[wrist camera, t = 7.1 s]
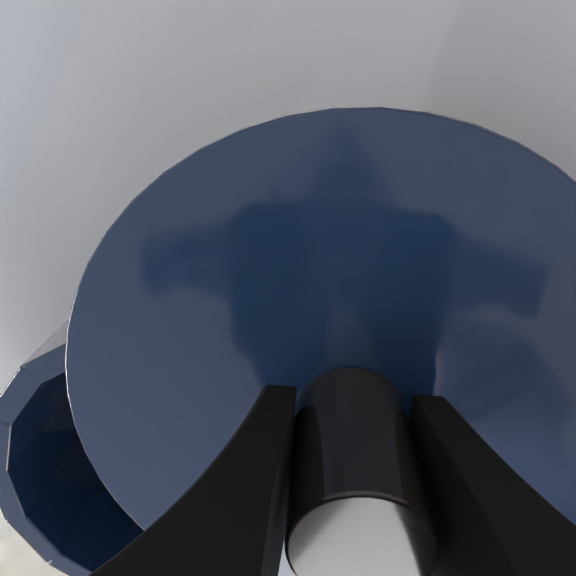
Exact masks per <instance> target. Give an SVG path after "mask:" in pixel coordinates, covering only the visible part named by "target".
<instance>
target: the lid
mask: <svg viewBox="0 0 576 576" xmlns="http://www.w3.org/2000/svg"><path fill="white" fill-rule="evenodd" d="M65 374H66V386H67V395H68V400H69V404H70V408H71V413H72V417H73V421H74V425H75V427H76V430H77V433H78V435H79V438H80V440H81V443H82V446H83V448H84V451H85V453H86V455H87V457H88V458H89V460H90V462H91V464H92V466H93V467H94V469H95V471H96V473H97V475H98V477H99V478H100V480H101V481H102V483H103V484H104V485H105V487H106V488H107V489H108V491H109V492H110V493H111V495H112V496H113V498H114V499H115V500H116V502H117V503H118V504H119V505H120V506H121V507H122V508H123V509H124V511H125V512H126V513H127V514H128V515H129V516H130V517H131V518H132V519H133V520H134V521H135V522H136V523H137V524H138V525H139V526H140V527H141V528H142V529H143V530H144V531H145V530H146V529H147V528H148V527H149V526H150V525H152V524H153V523H154V522H155V521H156V520H157V519H158V518H159V517H160V516H162V515H163V514H164V513H165V512H166V511H167V510H168V509H169V508H170V507H171V506H172V505H173V504H174V503H175V502H176V501H177V500H178V499H179V498H180V497H181V496H182V495H183V494H184V493H185V492H186V491H187V490H188V489H189V488H190V487H191V486H192V485H193V483H194V482H195V481H196V480H197V479H198V478H199V477H200V476H201V475H202V473H203V472H204V471H205V470H206V469H207V467H208V466H209V465H210V464H211V463H212V461H213V460H214V459H215V458H216V457H217V456H218V454H219V453H220V452H221V451H222V449H223V448H224V447H225V446H226V444H227V443H228V442H229V440H230V439H231V437H232V436H233V435H234V433H235V432H236V431H237V429H238V428H239V426H240V425H241V424H242V422H243V421H244V419H245V418H246V416H247V414H248V413H249V411H250V410H251V408H252V407H253V405H254V403H255V401H256V400H257V398H258V396H259V394H260V392H261V389H262V388H264V387H265V386H266V385H280V386H295V387H296V402H295V420H294V433H293V446H292V455H291V463H290V476H289V488H288V501H287V514H286V527H285V537H284V543H283V549H282V555H281V561H280V567H279V572H278V576H430V575H431V574H432V572H433V570H434V568H435V566H436V564H437V561H438V558H439V552H440V541H439V537H438V533H437V529H436V525H435V521H434V517H433V513H432V509H431V505H430V501H429V497H428V493H427V489H426V485H425V481H424V478H423V474H422V470H421V466H420V462H419V458H418V454H417V450H416V446H415V442H414V438H413V434H412V430H411V426H410V423H409V417H410V410H411V404H412V398H413V394H416V395H431V396H443V397H444V398H445V399H446V400H447V401H448V402H449V403H450V404H451V405H452V406H453V407H454V408H455V409H456V411H457V412H458V413H459V414H460V415H461V416H462V417H463V418H464V419H465V420H466V421H467V422H468V424H469V425H470V426H471V427H472V428H473V429H474V430H475V431H476V432H477V433H478V434H479V435H480V436H481V437H482V439H483V440H484V441H485V442H486V443H487V444H488V445H489V446H490V447H491V448H492V449H493V450H494V451H495V452H496V453H497V454H498V455H499V456H500V457H501V458H502V459H503V460H504V461H505V462H506V463H507V464H508V465H509V466H510V467H511V468H512V469H513V470H514V471H515V472H516V473H517V474H518V475H519V476H520V477H521V478H522V479H524V480H525V481H526V482H527V483H528V484H529V485H530V486H531V487H532V488H533V489H534V490H536V491H537V492H538V493H539V494H540V495H541V496H542V497H543V498H544V499H546V500H547V501H548V502H549V503H550V504H551V505H552V506H553V507H554V508H556V509H557V510H558V511H559V512H560V513H562V514H563V515H564V516H565V517H566V518H567V519H569V520H570V521H571V522H572V523H574V524H575V525H576V181H575V180H573V179H572V178H571V177H570V176H569V175H567V174H566V173H565V172H564V171H563V170H562V169H560V168H559V167H558V166H557V165H555V164H553V163H552V162H550V161H548V160H547V159H545V158H544V157H542V156H540V155H539V154H537V153H535V152H534V151H532V150H530V149H529V148H527V147H526V146H524V145H522V144H521V143H519V142H517V141H514V140H512V139H510V138H507V137H505V136H502V135H500V134H498V133H495V132H493V131H491V130H488V129H486V128H483V127H481V126H479V125H476V124H473V123H470V122H467V121H463V120H459V119H455V118H451V117H447V116H443V115H440V114H436V113H432V112H428V111H423V110H414V109H405V108H397V107H388V106H338V107H327V108H321V109H315V110H309V111H303V112H296V113H290V114H285V115H282V116H279V117H276V118H272V119H269V120H266V121H263V122H260V123H256V124H253V125H250V126H247V127H243V128H241V129H239V130H237V131H235V132H233V133H231V134H229V135H226V136H224V137H222V138H220V139H218V140H216V141H214V142H212V143H209V144H207V145H205V146H203V147H202V148H200V149H198V150H197V151H195V152H194V153H192V154H191V155H189V156H188V157H186V158H185V159H183V160H182V161H180V162H179V163H177V164H176V165H174V166H173V167H171V168H170V169H168V170H166V171H165V172H163V173H162V174H161V175H160V176H159V177H158V178H157V179H156V180H154V181H153V182H152V183H151V184H150V185H149V186H148V187H147V188H145V189H144V190H143V191H142V192H141V193H140V194H139V195H138V196H136V197H135V198H134V199H133V200H132V201H131V202H130V204H129V205H128V206H127V207H126V208H125V210H124V211H123V212H122V213H121V214H120V216H119V217H118V218H117V219H116V220H115V222H114V223H113V224H112V225H111V226H110V228H109V229H108V230H107V232H106V233H105V235H104V237H103V238H102V240H101V242H100V243H99V245H98V247H97V248H96V250H95V252H94V253H93V255H92V257H91V258H90V260H89V262H88V264H87V266H86V269H85V271H84V274H83V276H82V278H81V281H80V283H79V286H78V288H77V291H76V293H75V296H74V300H73V305H72V309H71V313H70V318H69V322H68V326H67V335H66V349H65Z"/></svg>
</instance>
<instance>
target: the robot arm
mask: <svg viewBox="0 0 576 576" xmlns="http://www.w3.org/2000/svg"><path fill="white" fill-rule="evenodd" d="M295 402H296V387H295V386H280V385H266V386H265V387H264V388H262V389H261V392H260V394H259V396H258V398H257V400H256V401H255V403H254V405H253V407H252V408H251V410H250V411H249V413H248V414H247V416H246V418H245V419H244V421H243V422H242V424H241V425H240V426H239V428H238V429H237V431H236V432H235V433H234V435H233V436H232V437H231V439H230V440H229V442H228V443H227V444H226V446H225V447H224V448H223V449H222V451H221V452H220V453H219V454H218V456H217V457H216V458H215V459H214V460H213V461H212V463H211V464H210V465H209V466H208V467H207V469H206V470H205V471H204V472H203V473H202V475H201V476H200V477H199V478H198V479H197V480H196V481H195V482H194V483H193V485H192V486H191V487H190V488H189V489H188V490H187V491H186V492H185V493H184V494H183V495H182V496H181V497H180V498H179V499H178V500H177V501H176V502H175V503H174V504H173V505H172V506H171V507H170V508H169V509H168V510H167V511H166V512H165V513H164V514H163V515H162V516H160V517H159V518H158V519H157V520H156V521H155V522H154V523H153V524H152V525H150V526H149V527H148V528H147V529H146V530H145V531H144V532H143V533H141V534H140V535H139V536H138V537H137V538H136V539H135V540H133V541H132V542H131V543H130V544H129V545H127V546H126V547H125V548H124V549H123V550H121V551H120V552H119V553H118V554H116V555H115V556H114V557H112V558H111V559H110V560H108V561H107V562H106V563H104V564H103V565H102V566H100V567H99V568H98V569H96V570H95V571H94V572H92V573H91V574H90V575H88V576H278V572H279V567H280V561H281V555H282V549H283V543H284V537H285V527H286V514H287V501H288V488H289V476H290V463H291V455H292V446H293V433H294V420H295ZM409 423H410V426H411V430H412V434H413V438H414V442H415V446H416V450H417V454H418V458H419V462H420V466H421V470H422V474H423V478H424V481H425V485H426V489H427V493H428V497H429V501H430V505H431V509H432V513H433V517H434V521H435V525H436V529H437V533H438V537H439V541H440V552H439V558H438V561H437V564H436V566H435V568H434V570H433V572H432V574H431V575H430V576H576V525H575V524H574V523H572V522H571V521H570V520H569V519H567V518H566V517H565V516H564V515H563V514H562V513H560V512H559V511H558V510H557V509H556V508H554V507H553V506H552V505H551V504H550V503H549V502H548V501H547V500H546V499H544V498H543V497H542V496H541V495H540V494H539V493H538V492H537V491H536V490H534V489H533V488H532V487H531V486H530V485H529V484H528V483H527V482H526V481H525V480H524V479H522V478H521V477H520V476H519V475H518V474H517V473H516V472H515V471H514V470H513V469H512V468H511V467H510V466H509V465H508V464H507V463H506V462H505V461H504V460H503V459H502V458H501V457H500V456H499V455H498V454H497V453H496V452H495V451H494V450H493V449H492V448H491V447H490V446H489V445H488V444H487V443H486V442H485V441H484V440H483V439H482V437H481V436H480V435H479V434H478V433H477V432H476V431H475V430H474V429H473V428H472V427H471V426H470V425H469V424H468V422H467V421H466V420H465V419H464V418H463V417H462V416H461V415H460V414H459V413H458V412H457V411H456V409H455V408H454V407H453V406H452V405H451V404H450V403H449V402H448V401H447V400H446V399H445V398H444V397H443V396H431V395H416V394H413V398H412V404H411V410H410V417H409Z"/></svg>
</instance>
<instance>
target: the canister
mask: <svg viewBox="0 0 576 576" xmlns="http://www.w3.org/2000/svg"><path fill="white" fill-rule="evenodd" d="M68 322H69V320H68V321H67V322H66V323H65V324H64V325H63V326H62V327H61V328H60V329H59V330H57V331H56V332H55V333H54V334H53V335H52V336H51V337H50V338H49V339H48V340H47V341H46V342H45V343H44V344H43V345H42V346H41V347H40V348H39V349H38V350H37V351H36V352H35V353H34V354H33V355H32V356H31V357H30V358H29V359H28V360H27V361H26V362H25V363H24V364H22V365H21V366H20V368H19V369H18V371H17V372H16V373H15V375H14V376H13V378H12V379H11V381H10V382H9V383H8V385H7V386H6V388H5V389H4V391H3V392H2V394H1V395H0V508H1V511H2V513H3V515H4V518H5V520H7V522H8V523H9V524H10V525H11V526H12V527H13V528H14V529H15V530H16V531H17V532H18V533H19V534H20V535H21V537H22V538H23V539H24V540H25V541H26V542H27V543H28V544H29V545H30V546H31V547H32V548H33V549H34V550H35V551H36V552H37V553H38V554H39V555H40V556H41V557H42V558H43V559H44V560H45V561H46V562H48V564H49V565H51V566H52V567H54V568H56V569H58V570H59V571H61V572H63V573H65V574H67V575H68V576H88V575H90V574H91V573H92V572H94V571H95V570H96V569H98V568H99V567H100V566H102V565H103V564H104V563H106V562H107V561H108V560H110V559H111V558H112V557H114V556H115V555H116V554H118V553H119V552H120V551H121V550H123V549H124V548H125V547H126V546H127V545H129V544H130V543H131V542H132V541H133V540H135V539H136V538H137V537H138V536H139V535H140V534H141V533H143V532H144V530H143V529H142V528H141V527H140V526H139V525H138V524H137V523H136V522H135V521H134V520H133V519H132V518H131V517H130V516H129V515H128V514H127V513H126V512H125V511H124V509H123V508H122V507H121V506H120V505H119V504H118V503H117V502H116V500H115V499H114V498H113V496H112V495H111V493H110V492H109V491H108V489H107V488H106V487H105V485H104V484H103V483H102V481H101V480H100V478H99V477H98V475H97V473H96V471H95V469H94V467H93V466H92V464H91V462H90V460H89V458H88V457H87V455H86V453H85V451H84V448H83V446H82V443H81V440H80V438H79V435H78V433H77V430H76V427H75V425H74V421H73V417H72V413H71V408H70V404H69V400H68V395H67V386H66V374H65V349H66V335H67V326H68Z"/></svg>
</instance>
